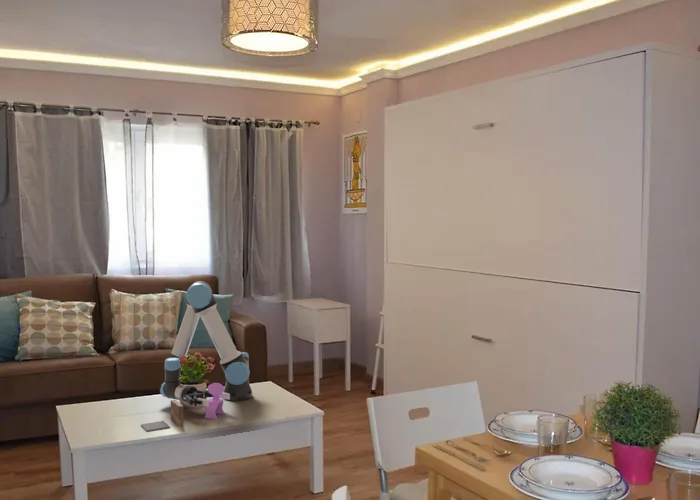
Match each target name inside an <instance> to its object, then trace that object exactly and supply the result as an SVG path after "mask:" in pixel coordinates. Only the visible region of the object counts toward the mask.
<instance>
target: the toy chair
mask: <svg viewBox="0 0 700 500" xmlns="http://www.w3.org/2000/svg"><path fill="white" fill-rule="evenodd" d="M224 387H225V385H223V384H221V383H219V382H213V383H210V384H209V385H208V386H207V390H208V391H209V393H210V394H212V395H213V397H209V399H208V400H209V406H204V409H205V416H204V419H213V420H218V417H217V414H220V415H225V414H226V413H225V412H224V410H223V408H224V407H223V405H224V399H222V398H219V397H220V394H222V393H223V392H224Z"/></svg>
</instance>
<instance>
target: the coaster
mask: <svg viewBox="0 0 700 500" xmlns="http://www.w3.org/2000/svg"><path fill="white" fill-rule="evenodd" d="M140 426H141V428H143V429H144V430H145V431H146V432H153V431H159V430H165V429H171V426H170V425H169V424H168V423H167V422H165V421H164V420H160V421H155V422H154V421H153V422H146V423H141V424H140Z"/></svg>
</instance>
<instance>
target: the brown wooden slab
mask: <svg viewBox="0 0 700 500" xmlns="http://www.w3.org/2000/svg"><path fill="white" fill-rule="evenodd" d="M170 421H172V422H173V423H174V424H175V425H176V426H178V427H184V405H183V404H181V402H179V401H178V400H176V399H171V400H170Z"/></svg>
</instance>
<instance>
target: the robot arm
mask: <svg viewBox="0 0 700 500" xmlns="http://www.w3.org/2000/svg"><path fill="white" fill-rule="evenodd" d="M185 294H186V300H187V301H186V306H187V307H186V310H185V312H184V316H183V318H182V320H181V325H180V327H179V330H178V333H177V334H176V339H175V341H174V343H173V347H172V350H171V353H170V356H169V357H167V358H165V360H164V382H163V383H162V384H161V385H160V386H161V387H160V388H159V392H160V394H161V396H162V397H165V398H167V399H171V400H176V401H181V402H182V403H183V402H186V403H188V404H189V406H192V405H194V406H195V407H197V406H198V405H199V406H204V407H205V406H209V399H206V398H213V395H212V394H210V393H209V391H208V389H203V390H198V389H197V388H196V386H194V385H193V386H188V385H182V384H180V382H179V381H178V379H179V377H180V376H181V374H182V373H180V371H179V370H180V367H181V364H180V360H179V357H180V356H186V357H187V355H188V352H189V349H190V347H191V344H192V340H193V338H194V335H195V331H196V330H197V326H198V323H199V320H200V319H201V321H202V323H203V325H204V327H205V330H206V331H207V333H208V335H209V337H210V339H211V341H212V343H213V345H214V346H215V349H216V351H217V353H218V355H219V357H220V360H219V364H220V366H221V368H222V370H223V373H224V377H225V385H224V392H223V393H222V394H220V397H219V399H223V400H225V401H246V400H249V399H252V398H253V391H252V387H251V385H250V381H249V379H250V373H251V372H250V371H251V370H250V365H249V364H250V363H249V362H250V361H249V360H250V357H249V353H248V352H245V351H243V352H241V351H239V350H237V347H236V346H235V344H234V341H233V339H232V337H231V336H230V333H229V332H228V329H227V327H226V326H225V324H224V322H223V320H222V317H221V315H220V314H219V311H218V309H217V304H218V302H217V301H216V298H215V296H214V294H213V289H212V287H211V285H210V284H209V283H207V282H206V281H203V280H199V281H195V282H193V283H192V284H191V285H190V286H189V287H188V289H187V290H186V293H185Z"/></svg>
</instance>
